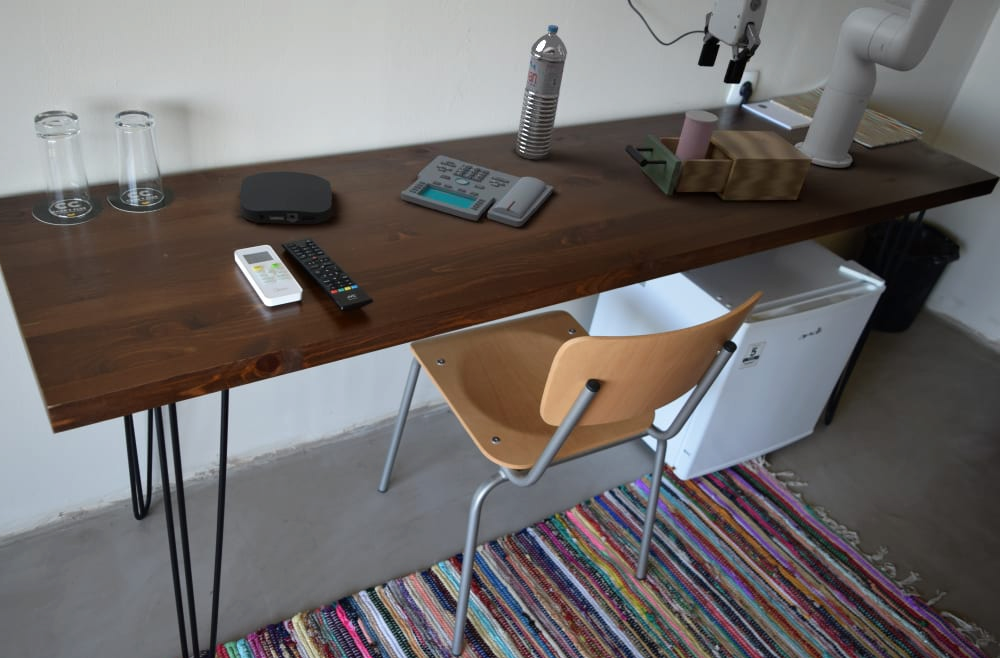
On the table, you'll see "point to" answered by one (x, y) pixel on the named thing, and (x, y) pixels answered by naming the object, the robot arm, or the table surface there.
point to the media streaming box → (286, 198)
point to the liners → (695, 135)
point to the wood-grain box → (761, 165)
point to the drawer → (694, 172)
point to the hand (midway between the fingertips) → (718, 74)
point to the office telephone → (477, 191)
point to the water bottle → (541, 96)
